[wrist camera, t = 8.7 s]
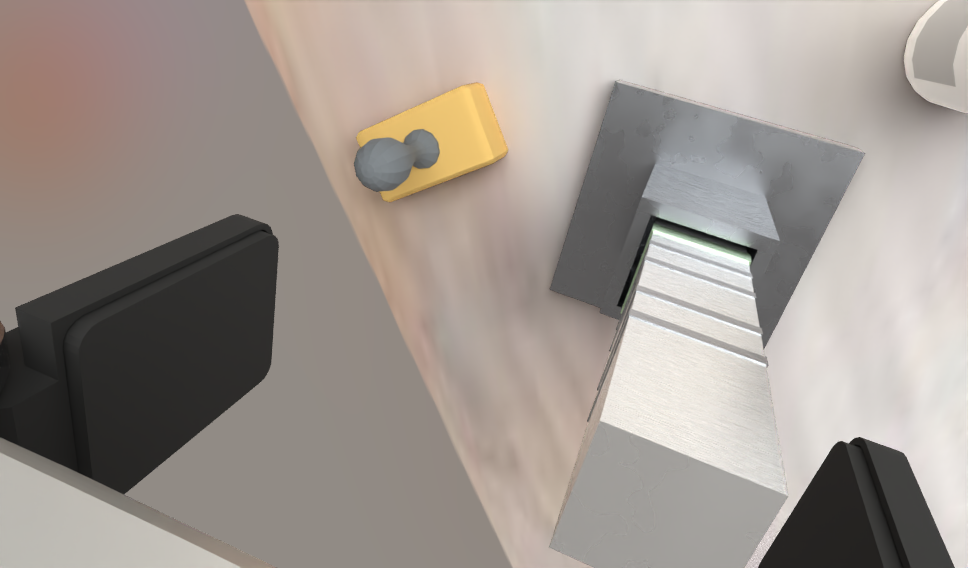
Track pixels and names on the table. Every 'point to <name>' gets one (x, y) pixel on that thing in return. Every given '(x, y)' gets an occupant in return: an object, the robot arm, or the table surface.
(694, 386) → the block
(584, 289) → the jack stand base
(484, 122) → the rubber stamp
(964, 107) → the spray bottle
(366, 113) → the table surface
